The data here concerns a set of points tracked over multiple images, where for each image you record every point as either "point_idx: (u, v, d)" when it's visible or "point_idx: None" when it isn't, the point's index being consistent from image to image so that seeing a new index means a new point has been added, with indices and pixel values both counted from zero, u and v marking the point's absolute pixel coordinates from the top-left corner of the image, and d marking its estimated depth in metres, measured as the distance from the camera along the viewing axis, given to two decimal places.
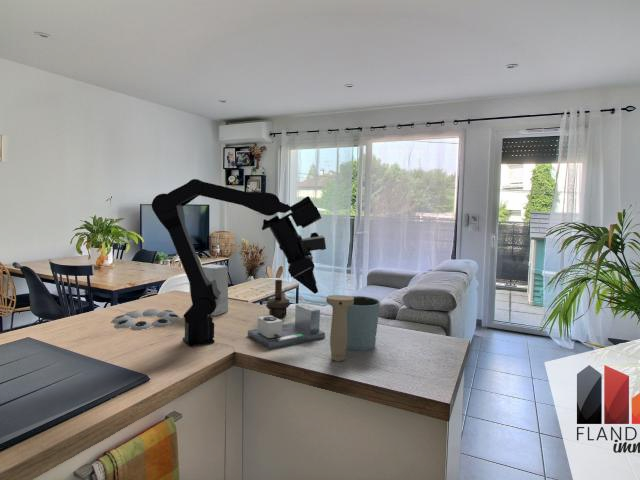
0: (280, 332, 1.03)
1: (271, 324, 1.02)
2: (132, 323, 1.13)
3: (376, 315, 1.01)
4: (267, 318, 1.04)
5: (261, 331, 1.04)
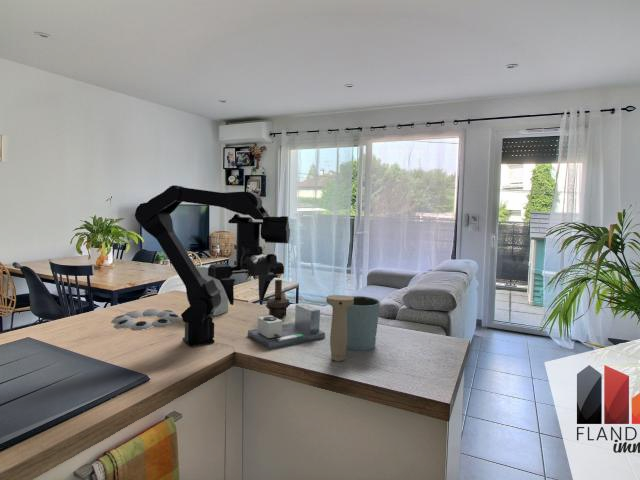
0: (280, 332, 1.03)
1: (271, 324, 1.02)
2: (132, 323, 1.13)
3: (376, 315, 1.01)
4: (267, 318, 1.04)
5: (261, 331, 1.04)
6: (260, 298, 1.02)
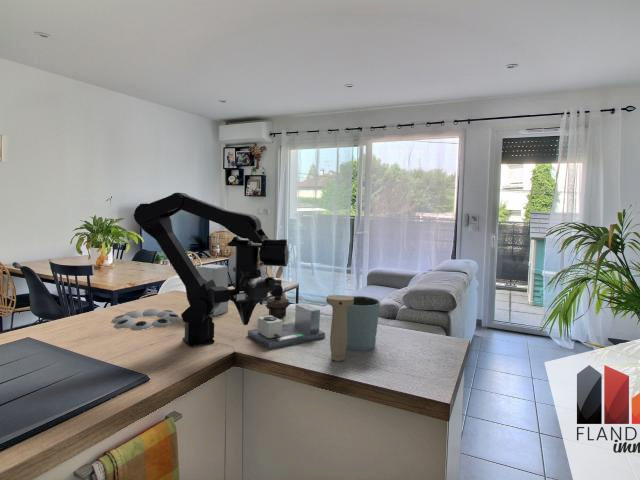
0: (280, 332, 1.03)
1: (271, 324, 1.02)
2: (132, 323, 1.13)
3: (376, 315, 1.01)
4: (267, 318, 1.04)
5: (261, 331, 1.04)
6: None
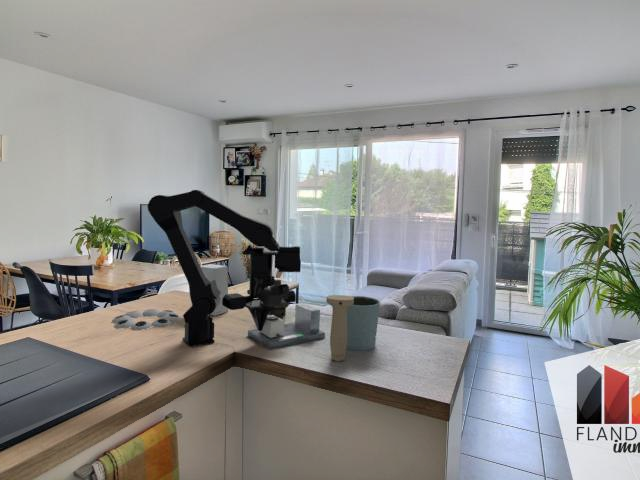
0: (282, 332, 1.04)
1: (273, 324, 1.02)
2: (132, 323, 1.13)
3: (376, 315, 1.01)
4: (269, 318, 1.05)
5: (263, 331, 1.05)
6: None
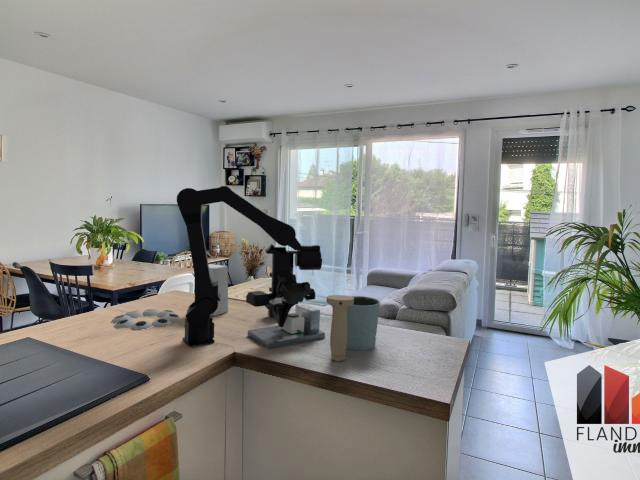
0: (302, 328, 1.07)
1: (294, 320, 1.06)
2: (132, 323, 1.13)
3: (376, 315, 1.01)
4: (289, 315, 1.08)
5: (284, 327, 1.09)
6: None
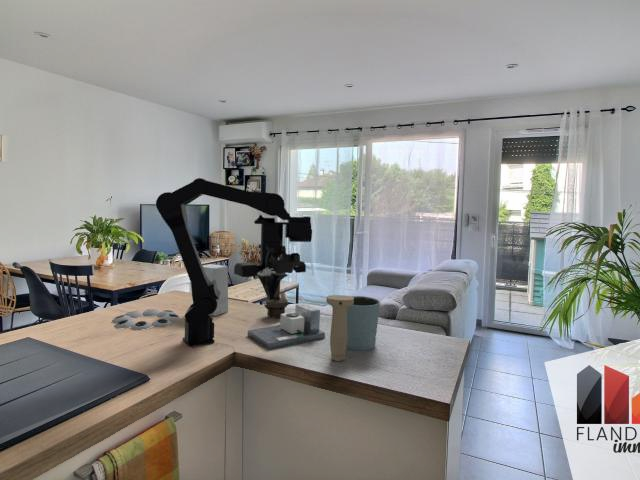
0: (302, 328, 1.07)
1: (294, 320, 1.06)
2: (132, 323, 1.13)
3: (376, 315, 1.01)
4: (289, 315, 1.08)
5: (284, 327, 1.09)
6: None
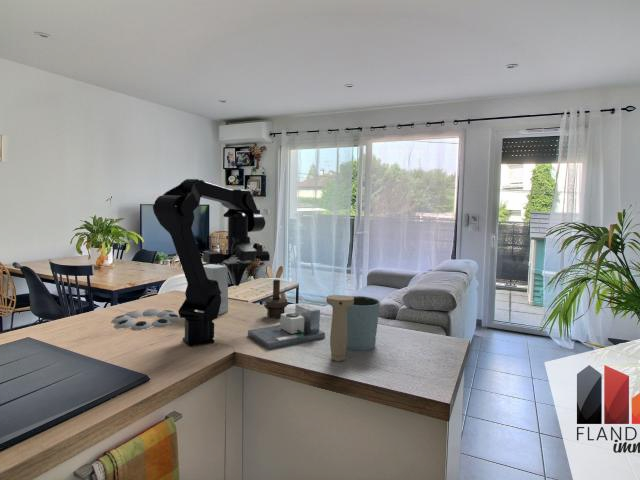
0: (302, 328, 1.07)
1: (294, 320, 1.06)
2: (132, 323, 1.13)
3: (376, 315, 1.01)
4: (289, 315, 1.08)
5: (284, 327, 1.09)
6: None
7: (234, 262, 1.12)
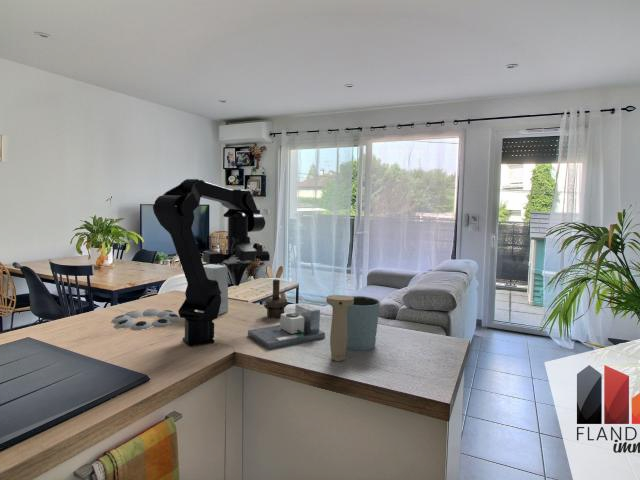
0: (302, 328, 1.07)
1: (294, 320, 1.06)
2: (132, 323, 1.13)
3: (376, 315, 1.01)
4: (289, 315, 1.08)
5: (284, 327, 1.09)
6: None
7: (234, 262, 1.12)
